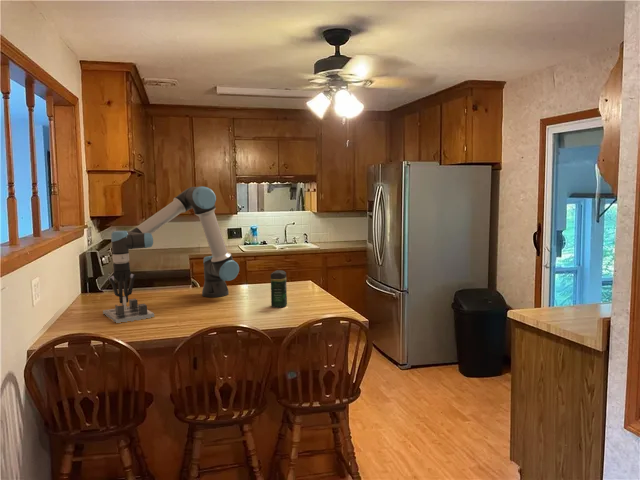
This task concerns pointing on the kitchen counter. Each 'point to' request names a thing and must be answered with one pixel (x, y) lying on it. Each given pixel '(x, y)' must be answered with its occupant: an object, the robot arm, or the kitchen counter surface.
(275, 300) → the coffee jar
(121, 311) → the block
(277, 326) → the kitchen counter surface
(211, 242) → the robot arm
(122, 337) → the kitchen counter surface
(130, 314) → the breaker panel
